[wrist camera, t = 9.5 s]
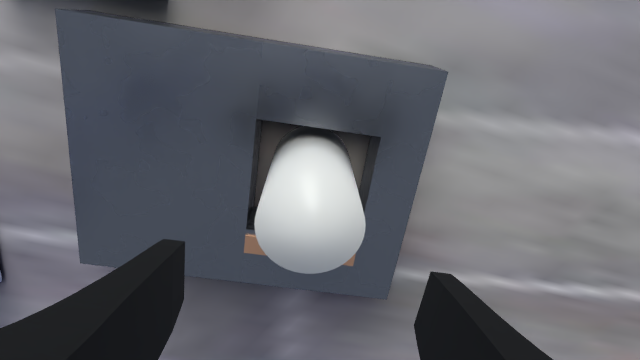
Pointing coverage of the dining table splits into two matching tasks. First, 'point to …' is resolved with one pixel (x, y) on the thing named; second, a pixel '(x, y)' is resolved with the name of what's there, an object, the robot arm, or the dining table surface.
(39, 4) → the dining table surface
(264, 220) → the barrel peg
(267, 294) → the dining table surface
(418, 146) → the hole plate
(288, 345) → the dining table surface
